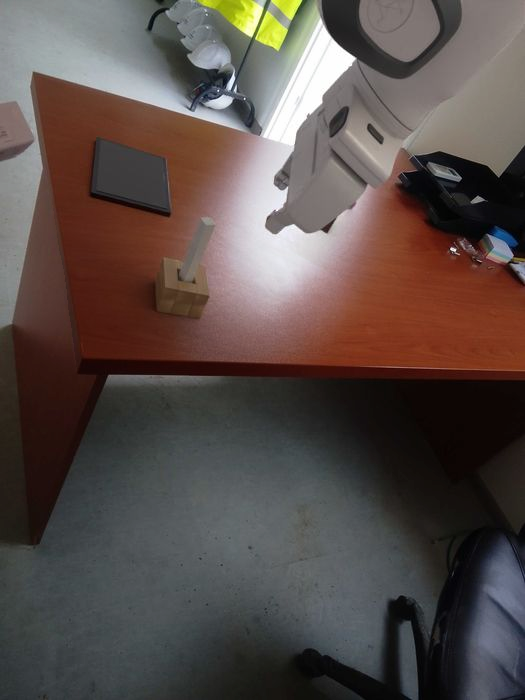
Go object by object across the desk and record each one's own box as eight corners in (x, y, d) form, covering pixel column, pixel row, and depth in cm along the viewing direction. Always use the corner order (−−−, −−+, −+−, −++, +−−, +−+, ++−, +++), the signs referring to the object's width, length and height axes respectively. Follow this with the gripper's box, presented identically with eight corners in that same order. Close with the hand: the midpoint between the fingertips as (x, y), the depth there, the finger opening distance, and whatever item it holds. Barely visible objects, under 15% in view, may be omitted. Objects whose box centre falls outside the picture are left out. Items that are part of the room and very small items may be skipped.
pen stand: (156, 311, 67) (165, 287, 64) (155, 281, 72) (163, 256, 68) (199, 318, 70) (210, 295, 67) (195, 289, 74) (205, 266, 71)
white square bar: (175, 304, 70) (206, 224, 60) (170, 296, 71) (200, 217, 61) (183, 302, 71) (216, 224, 61) (179, 295, 72) (210, 217, 62)
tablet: (169, 217, 85) (171, 212, 84) (90, 196, 79) (91, 191, 78) (164, 162, 97) (166, 157, 96) (95, 141, 91) (96, 136, 90)
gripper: (342, 58, 51) (263, 147, 60) (342, 140, 38) (241, 238, 47) (378, 99, 54) (298, 178, 63) (390, 188, 41) (286, 273, 50)
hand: (273, 204), depth 55 cm, fingers open, 8 cm apart
